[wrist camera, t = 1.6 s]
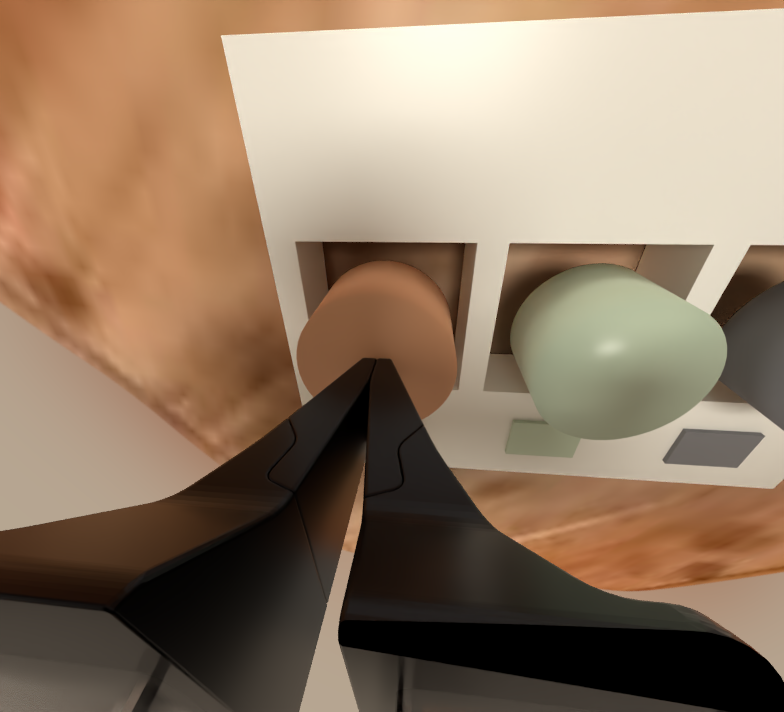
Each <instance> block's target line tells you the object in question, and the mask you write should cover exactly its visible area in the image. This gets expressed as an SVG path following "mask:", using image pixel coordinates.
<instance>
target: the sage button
mask: <svg viewBox="0 0 784 712" xmlns="http://www.w3.org/2000/svg"><path fill="white" fill-rule="evenodd" d="M510 344H511V349H512V352H513V355H514V357H515V360H516V362H517V364H518V367H519V369H520V371H521V374H522V376H523V378H524V381H525V383H526V385H527V388H528V390H529V392H530V395H531V397H532V399H533V401H534V404H535V406H536V408H537V410H538V412H539V414H540V415H541V417H542V418H543V419H544V420H545V421H546V422H547V423H548V424H549V425H551V426H552V427H553V428H555V429H557V430H558V431H560V432H562V433H565V434H567V435H570V436H573V437H577V438H582V439H589V440H615V439H622V438H628V437H633V436H637V435H640V434H644V433H647V432H650V431H653V430H655V429H658V428H660V427H662V426H664V425H666V424H668V423H671V422H672V421H674V420H676V419H677V418H679V417H681V416H682V415H684V414H685V413H687V412H688V411H690V410H691V409H692V408H693V407H695V406H696V405H697V404H698V403H699V402H700V401H701V400H702V399H703V398H704V397H705V396H706V395H707V394H708V393H709V392H710V391H711V389H712V388H713V387H714V385H715V384H716V382H717V381H718V379H719V377H720V376H721V373H722V371H723V369H724V366H725V362H726V358H727V343H726V337H725V335H724V333H723V330H722V328H721V327H720V325H719V324H718V323H717V321H716V320H715V319H714V318H712V317H711V316H710V315H709V314H708V313H706V312H704V311H703V310H701V309H699V308H697V307H696V306H694V305H692V304H690V303H689V302H687V301H685V300H683V299H682V298H680V297H678V296H676V295H675V294H673V293H671V292H670V291H668V290H666V289H664V288H663V287H661V286H659V285H657V284H656V283H654V282H652V281H650V280H649V279H647V278H645V277H643V276H642V275H640V274H638V273H636V272H635V271H633V270H631V269H629V268H626V267H623V266H620V265H615V264H606V263H598V264H588V265H582V266H578V267H575V268H571V269H569V270H566V271H564V272H561V273H559V274H557V275H555V276H553V277H552V278H550V279H548V280H547V281H545V282H544V283H542V284H541V285H540V286H539V287H538V288H536V289H535V290H534V291H533V292H532V293H531V294H530V295H529V296H528V297H527V298H526V300H525V301H524V302H523V304H522V305H521V307H520V308H519V310H518V311H517V313H516V316H515V318H514V320H513V324H512V327H511V333H510Z"/></svg>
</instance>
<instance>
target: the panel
mask: <svg viewBox="0 0 784 712" xmlns="http://www.w3.org/2000/svg"><path fill="white" fill-rule="evenodd" d="M221 38H222V42H223V47H224V51H225V56H226V60H227V65H228V69H229V74H230V79H231V83H232V88H233V92H234V97H235V101H236V106H237V111H238V115H239V120H240V124H241V129H242V133H243V138H244V142H245V147H246V152H247V156H248V161H249V165H250V170H251V174H252V179H253V184H254V188H255V193H256V197H257V202H258V206H259V211H260V215H261V220H262V225H263V229H264V234H265V238H266V243H267V247H268V252H269V257H270V261H271V266H272V270H273V275H274V279H275V284H276V289H277V293H278V298H279V302H280V307H281V311H282V316H283V320H284V325H285V330H286V334H287V339H288V343H289V348H290V352H291V357H292V362H293V366H294V371H295V375H296V380H297V384H298V389H299V393H300V398H301V403H302V406H303V405H304V404H306V403H307V402H308V401H309V400H311V399H312V398H313V396H312V395H311V394H310V392H309V391H308V390H307V388H306V386H305V385H304V383H303V381H302V379H301V376H300V374H299V370H298V366H297V359H296V354H297V345H298V340H299V337H300V335H301V332H302V330H303V328H304V327H305V325H306V323H307V322H308V320H309V319H310V318H311V316H312V315H313V313H314V312H315V310H316V309H317V308H318V306H319V305H320V303H321V302H322V300H323V299H324V297H325V296H326V295H327V293H328V292H329V291H328V283H327V275H326V268H325V260H324V252H323V244H322V242H436V243H465V251H464V260H463V269H462V278H461V288H460V297H459V306H458V315H457V325H456V334H455V343H454V344H455V351H456V358H457V376H456V381H455V384H454V387H453V389H452V391H451V393H450V395H449V397H448V398H447V399H446V401H445V402H444V403H443V404H442V405H441V406H440V407H439V408H438V409H437V410H436V411H435V412H433V413H432V414H431V415H429V416H428V417H426V418H424V419H422V422H423V424H424V427H425V428H426V430H427V432H428V434H429V436H430V438H431V440H432V441H433V443H434V445H435V447H436V449H437V450H438V452H439V454H440V455H441V457H442V458H443V460H444V461H445V463H446V464H447V466H448V467H449V468H462V469H478V470H493V471H508V472H523V473H539V474H554V475H569V476H584V477H600V478H615V479H630V480H645V481H661V482H676V483H691V484H706V485H722V486H737V487H752V488H767V489H774V488H775V487H776V486H777V485H778V484H779V483H780V482H781V481H782V480H783V479H784V431H783V430H782V429H781V428H779V427H778V426H777V425H776V424H774V423H773V422H772V421H770V420H769V419H768V418H767V417H765V416H764V415H763V414H761V413H760V412H759V411H758V410H756V409H755V408H754V407H752V406H751V405H750V404H749V403H747V402H746V401H745V400H744V399H742V398H741V397H740V396H738V395H737V394H736V393H735V392H733V391H732V390H731V389H729V388H728V387H727V386H726V385H724V384H723V383H722V382H721V381H719V380H718V381H717V382H716V384H715V385H714V387H713V388H712V389H711V391H710V392H709V393H708V394H707V395H706V396H705V397H704V398H703V399H702V400H701V401H700V402H699V403H698V404H697V405H696V406H695V407H693V408H692V409H691V410H690V411H688V412H687V413H685V414H684V415H682V416H681V417H679V418H677V419H676V420H674V421H672V422H671V423H668V424H666V425H664V426H662V427H660V428H658V429H655V430H653V431H650V432H647V433H644V434H640V435H637V436H633V437H628V438H622V439H615V440H589V439H582V438H577V437H573V436H570V435H567V434H565V433H562V432H560V431H558V430H557V429H555V428H553V427H552V426H551V425H549V424H548V423H547V422H546V421H545V420H544V419H543V418H542V417H541V415H540V414H539V412H538V410H537V408H536V406H535V404H534V401H533V399H532V397H531V395H530V392H529V390H528V388H527V385H526V383H525V381H524V378H523V376H522V374H521V371H520V369H519V367H518V364H517V362H516V360H515V357H514V355H511V354H490V349H491V344H492V338H493V333H494V327H495V322H496V316H497V311H498V305H499V300H500V294H501V289H502V283H503V277H504V272H505V266H506V261H507V255H508V250H509V244H510V243H564V244H647V245H646V247H645V250H644V252H643V255H642V257H641V259H640V262H639V264H638V267H637V269H636V273H638V274H640V275H642V276H643V277H645V278H647V279H649V280H650V281H652V282H654V283H656V284H657V285H659V286H661V287H663V288H664V289H666V290H668V291H670V292H671V293H673V294H675V295H676V296H678V297H680V298H682V299H683V300H685V301H687V302H689V303H690V304H692V305H694V306H696V307H697V308H699V309H701V310H703V311H704V312H706V313H708V314H709V315H710V314H711V313H712V311H713V309H714V307H715V306H716V304H717V302H718V301H719V299H720V297H721V295H722V294H723V292H724V290H725V288H726V287H727V285H728V283H729V282H730V280H731V278H732V276H733V275H734V273H735V271H736V269H737V268H738V266H739V264H740V263H741V261H742V259H743V257H744V256H745V254H746V252H747V250H748V249H749V247H750V245H784V8H783V9H762V10H741V11H721V12H700V13H679V14H658V15H638V16H617V17H596V18H575V19H555V20H534V21H513V22H492V23H472V24H451V25H430V26H409V27H389V28H368V29H347V30H326V31H306V32H285V33H264V34H243V35H223V36H221Z"/></svg>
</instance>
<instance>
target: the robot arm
mask: <svg viewBox="0 0 784 712" xmlns="http://www.w3.org/2000/svg"><path fill="white" fill-rule="evenodd" d="M364 463H365V478H364V497H363V498H364V501H363V514H362V523H361V528H360V532H359V536H358V541H357V545H356V549H355V554H354V558H353V562H352V566H351V571H350V575H349V579H348V583H347V588H346V592H345V597H344V600H343V606H342V610H341V614H340V621H339V628H338V641H339V645H340V648H341V652H342V655H343V658H344V662H345V665H346V669H347V672H348V675H349V679H350V682H351V686H352V689H353V692H354V696H355V699H356V702H357V706H358V709H359V712H784V682H783V680H782V678H781V676H780V675H779V674H778V673H777V671H776V670H775V669H774V667H773V666H772V665H771V664H770V663H769V661H768V660H767V659H765V658H764V657H763V656H762V655H760V654H759V653H758V652H757V651H755V649H753V648H752V647H751V646H750V645H748V644H747V643H745V642H744V641H743V640H741V639H740V638H738V637H737V636H736V635H734V634H733V633H731V632H730V631H728V630H726V629H725V628H723V627H722V626H720V625H719V624H718V623H716V622H715V621H713V620H712V619H710V618H709V617H707V616H705V615H704V614H702V613H700V612H698V611H696V610H693V609H691V608H687V607H684V606H681V605H676V604H670V603H663V602H651V601H642V600H635V599H629V598H624V597H620V596H617V595H614V594H610V593H607V592H604V591H602V590H600V589H597V588H595V587H592V586H590V585H588V584H586V583H584V582H582V581H581V580H579V579H577V578H575V577H573V576H572V575H570V574H568V573H567V572H565V571H564V570H562V569H560V568H559V567H557V566H555V565H554V564H552V563H550V562H549V561H547V560H545V559H544V558H542V557H541V556H539V555H537V554H536V553H534V552H532V551H531V550H529V549H527V548H526V547H524V546H522V545H521V544H519V543H518V542H516V541H514V540H513V539H511V538H509V537H508V536H506V535H504V534H503V533H501V532H500V531H498V530H497V529H496V528H495V527H494V526H492V525H491V524H490V523H489V522H488V521H487V520H486V518H485V517H484V516H483V515H482V514H481V512H480V511H479V510H478V508H477V507H476V506H475V504H474V503H473V501H472V500H471V498H470V497H469V496H468V494H467V493H466V491H465V490H464V489H463V487H462V486H461V484H460V483H459V481H458V480H457V479H456V477H455V476H454V474H453V473H452V471H451V470H450V469H449V467H448V466H447V464H446V463H445V461H444V460H443V458H442V457H441V455H440V454H439V452H438V450H437V449H436V447H435V445H434V443H433V441H432V440H431V438H430V436H429V434H428V432H427V430H426V428H425V427H424V424H423V422H422V420H421V418H420V416H419V414H418V412H417V410H416V408H415V406H414V404H413V402H412V400H411V398H410V396H409V394H408V392H407V390H406V388H405V385H404V383H403V381H402V379H401V377H400V375H399V373H398V371H397V369H396V367H395V365H394V363H393V361H392V360H391V359H387V358H379V359H376V358H362V359H361V360H360V361H358V362H357V363H356V364H354V365H353V366H352V367H351V368H349V369H348V370H347V371H346V372H344V373H343V374H342V375H341V376H339V377H338V378H337V379H336V380H334V381H333V382H332V383H331V384H329V385H328V386H327V387H326V388H324V389H323V390H322V391H321V392H319V393H318V394H317V395H316V396H314V397H313V398H312V399H311V400H309V401H308V402H307V403H306V404H304V405H303V406H302V407H301V408H299V409H298V410H297V411H296V412H294V413H293V414H292V415H291V416H289V418H288V419H286V420H284V421H283V422H282V423H281V424H279V425H278V426H277V427H275V428H274V429H273V430H271V431H270V432H269V433H268V434H266V435H265V436H264V437H262V438H261V439H260V440H258V441H257V442H255V443H254V444H252V445H251V446H249V447H248V448H247V449H245V450H244V451H242V452H241V453H239V454H238V455H236V456H235V457H233V458H232V459H230V460H229V461H227V462H226V463H224V464H223V465H221V466H220V467H218V468H217V469H215V470H214V471H212V472H211V473H209V474H208V475H206V476H205V477H203V478H202V479H200V480H199V481H197V482H195V483H194V484H192V485H191V486H189V487H188V488H186V489H184V490H182V491H181V492H179V493H177V494H175V495H173V496H170V497H168V498H165V499H162V500H159V501H156V502H152V503H148V504H143V505H138V506H133V507H128V508H122V509H117V510H112V511H107V512H101V513H97V514H91V515H86V516H81V517H76V518H70V519H65V520H60V521H55V522H49V523H45V524H39V525H34V526H29V527H23V528H17V529H11V530H5V531H0V712H299V710H300V706H301V702H302V698H303V694H304V691H305V687H306V683H307V679H308V675H309V672H310V668H311V664H312V660H313V656H314V653H315V649H316V645H317V641H318V638H319V633H320V630H321V626H322V622H323V619H324V615H325V611H326V607H327V604H326V603H327V602H328V599H329V595H330V592H331V587H332V584H333V580H334V576H335V573H336V569H337V565H338V561H339V558H340V554H341V550H342V546H343V542H344V539H345V535H346V531H347V527H348V523H349V520H350V516H351V512H352V508H353V504H354V501H355V497H356V493H357V489H358V485H359V482H360V478H361V474H362V470H363V466H364Z"/></svg>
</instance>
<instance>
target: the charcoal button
mask: <svg viewBox="0 0 784 712" xmlns="http://www.w3.org/2000/svg"><path fill="white" fill-rule="evenodd" d="M722 330H723V333H724V335H725V337H726V343H727V358H726V362H725V366H724V369H723V371H722V373H721V376H720V377H719V379H718V380H719V381H721V382H722V383H723V384H724V385H726V386H727V387H728V388H729V389H731V390H732V391H733V392H735V393H736V394H737V395H738V396H740V397H741V398H742V399H744V400H745V401H746V402H747V403H749V404H750V405H751V406H752V407H754V408H755V409H756V410H758V411H759V412H760V413H761V414H763V415H764V416H765V417H767V418H768V419H769V420H770V421H772V422H773V423H774V424H776V425H777V426H778V427H779V428H781V429H782V430H783V431H784V281H783V282H781V283H779V284H777V285H775V286H773V287H771V288H770V289H768V290H766V291H764V292H763V293H761V294H759V295H758V296H756V297H755V298H754V299H752V300H751V301H749V302H748V303H747V304H745V305H744V306H743V307H742V308H741V309H739V310H738V311H737V312H736V313H735V314H734V315H733V316H732V317H731V318H730V319H729V320H728V321H727V323H726V324H725V325H724V326H723V328H722Z"/></svg>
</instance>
